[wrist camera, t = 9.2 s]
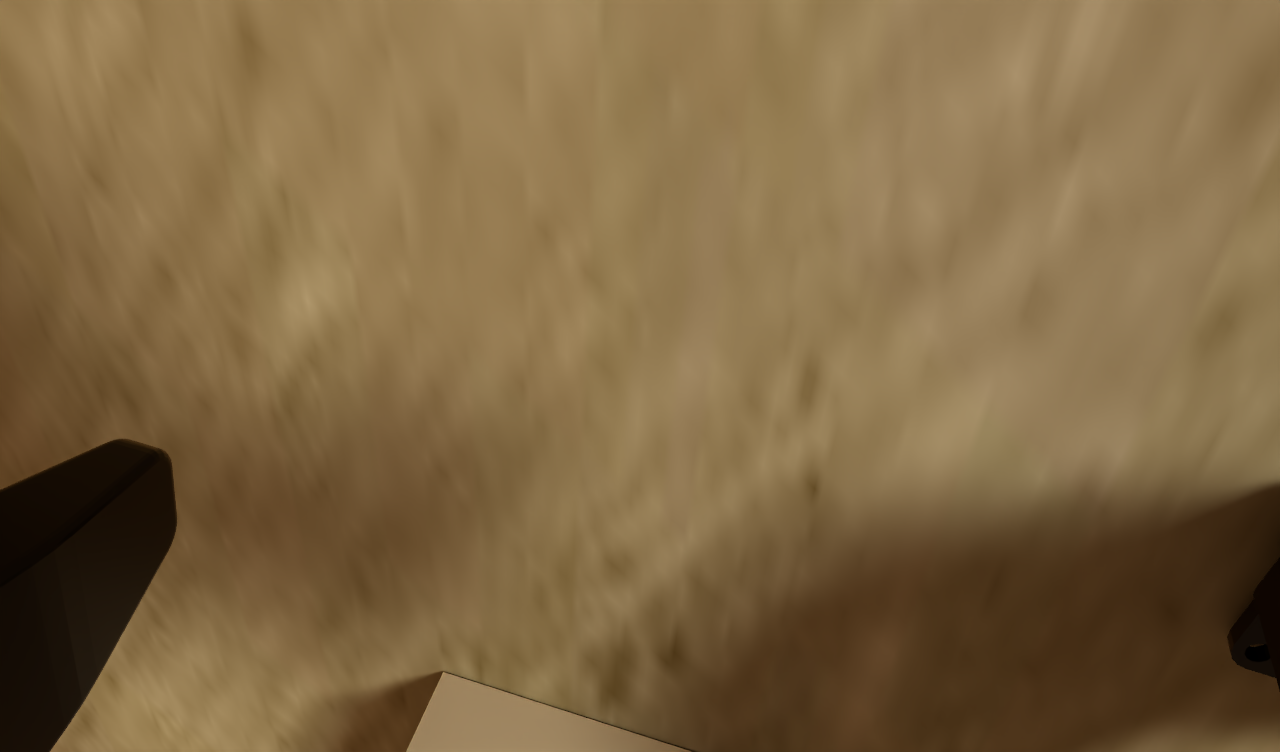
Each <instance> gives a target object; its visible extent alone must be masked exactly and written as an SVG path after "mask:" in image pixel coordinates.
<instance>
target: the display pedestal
mask: <svg viewBox="0 0 1280 752" xmlns="http://www.w3.org/2000/svg"><path fill="white" fill-rule="evenodd" d="M406 752H691V751H688V750H685V749H682V748H679V747H676V746H673V745H670V744H666V743H663V742H660V741H657V740H654V739H651V738H648V737H645V736H642V735H638V734H635V733H632V732H629V731H626V730H623V729H620V728H617V727H613V726H610V725H607V724H604V723H601V722H598V721H595V720H592V719H588V718H585V717H582V716H579V715H576V714H573V713H570V712H567V711H564V710H560V709H557V708H554V707H551V706H548V705H545V704H542V703H539V702H535V701H532V700H529V699H526V698H523V697H520V696H517V695H514V694H511V693H507V692H504V691H501V690H498V689H495V688H492V687H489V686H486V685H482V684H479V683H476V682H473V681H470V680H467V679H464V678H461V677H458V676H454V675H451V674H448V673H445V672H443V673H442V676H441V678H440V680H439V682H438V684H437V686H436V688H435V691H434V693H433V695H432V697H431V699H430V701H429V703H428V706H427V708H426V710H425V712H424V714H423V716H422V719H421V721H420V723H419V725H418V727H417V729H416V731H415V734H414V736H413V738H412V740H411V742H410V744H409V746H408V749H407V751H406Z"/></svg>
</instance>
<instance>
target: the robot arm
mask: <svg viewBox="0 0 1280 752" xmlns="http://www.w3.org/2000/svg"><path fill="white" fill-rule="evenodd" d="M176 526H177V513H176V502H175V492H174V481H173V470H172V463H171V459H170V457H169V456H168V454H167V453H166V452H165V451H163V450H162V449H159V448H156V447H152V446H149V445H146V444H142V443H139V442H135V441H132V440H128V439H117V440H113V441H110V442H107V443H105V444H103V445H100V446H98V447H96V448H94V449H91V450H89V451H87V452H85V453H82V454H80V455H78V456H76V457H73V458H71V459H69V460H67V461H64V462H62V463H60V464H58V465H55V466H53V467H51V468H49V469H46V470H44V471H42V472H40V473H37V474H35V475H33V476H31V477H28V478H26V479H24V480H22V481H19V482H17V483H15V484H13V485H10V486H8V487H6V488H4V489H1V490H0V752H50V751H51V749H52V748H53V746H54V745H55V743H56V742H57V741H58V739H59V738H60V736H61V735H62V734H63V732H64V731H65V729H66V728H67V726H68V725H69V723H70V722H71V720H72V719H73V717H74V716H75V714H76V713H77V711H78V710H79V708H80V707H81V705H82V704H83V702H84V701H85V699H86V697H87V696H88V694H89V692H90V690H91V689H92V687H93V685H94V684H95V682H96V680H97V679H98V677H99V675H100V673H101V671H102V670H103V668H104V666H105V664H106V662H107V661H108V659H109V657H110V655H111V653H112V652H113V650H114V648H115V646H116V644H117V643H118V641H119V639H120V637H121V635H122V633H123V632H124V630H125V628H126V626H127V624H128V623H129V621H130V619H131V617H132V615H133V614H134V612H135V610H136V608H137V606H138V605H139V603H140V601H141V599H142V597H143V596H144V594H145V592H146V590H147V588H148V587H149V585H150V583H151V581H152V579H153V578H154V576H155V574H156V572H157V570H158V568H159V567H160V565H161V563H162V561H163V559H164V558H165V556H166V554H167V552H168V550H169V548H170V546H171V544H172V541H173V539H174V535H175V532H176ZM1253 597H1254V600H1253V601H1252V603H1251V604H1250V605H1249V606H1248V608H1247V609H1246V610H1245V612H1244V613H1243V614H1242V616H1241V617H1240V618H1239V619H1238V621H1237V622H1236V623H1235V625H1234V626H1233V627H1232V628H1231V630H1230V632H1229V634H1228V636H1227V638H1228V643H1229V647H1230V652H1231V656H1232V659H1233V660H1234V661H1235V662H1236V663H1237V665H1239V666H1241V667H1243V668H1246V669H1248V670H1252V671H1255V672H1258V673H1261V674H1265V675H1268V676H1271V677H1275V678H1276V679H1277V683H1278V686H1279V690H1280V558H1279V559H1278V560H1277V562H1276V563H1275V564H1274V565H1273V567H1272V568H1271V569H1270V571H1269V572H1268V573H1267V575H1266V576H1265V577H1264V578H1263V580H1262V581H1261V582H1260V584H1259V585H1258V586H1257V588H1256V589H1255V591H1254V594H1253ZM1254 644H1264V645H1262V646H1258V647H1252V646H1251V645H1254Z"/></svg>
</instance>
